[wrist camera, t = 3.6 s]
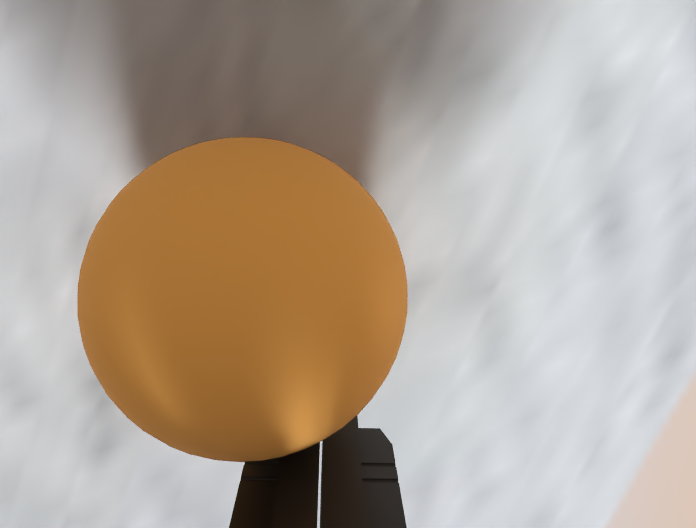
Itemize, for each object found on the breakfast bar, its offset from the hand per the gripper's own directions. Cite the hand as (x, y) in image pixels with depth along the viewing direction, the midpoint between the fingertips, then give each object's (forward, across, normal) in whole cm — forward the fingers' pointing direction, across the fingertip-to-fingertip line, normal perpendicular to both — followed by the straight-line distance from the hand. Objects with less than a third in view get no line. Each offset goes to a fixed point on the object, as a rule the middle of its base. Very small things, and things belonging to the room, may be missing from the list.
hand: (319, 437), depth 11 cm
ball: (-1, +1, -4) cm, 4 cm away
